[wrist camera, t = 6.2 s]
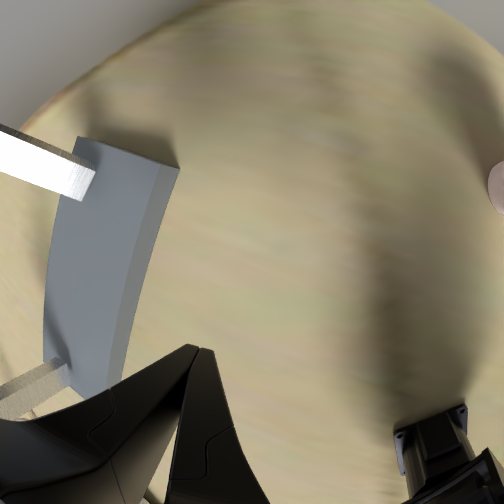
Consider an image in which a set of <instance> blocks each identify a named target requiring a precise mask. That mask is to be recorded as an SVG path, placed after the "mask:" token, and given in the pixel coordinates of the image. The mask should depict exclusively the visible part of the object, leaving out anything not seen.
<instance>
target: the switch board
mask: <svg viewBox="0 0 504 504" xmlns="http://www.w3.org/2000/svg"><path fill="white" fill-rule="evenodd" d="M72 154H74V155H76V156H78V157H81V158H83V159H85V160H88V161H90V162H92V163H94V164H95V167H96V173H95V175H94V177H93V179H92V181H91V183H90V185H89V187H88V189H87V191H86V193H85V195H84V197H83V199H82V201H78V200H76V199H73V198H71V197H68V196H65V195H63V194H61V195H60V199H59V204H58V208H57V213H56V218H55V223H54V228H53V234H52V239H51V246H50V252H49V260H48V267H47V276H46V287H45V299H44V319H43V362H44V363H45V362H47V361H49V360H51V359H53V358H55V357H57V358H59V359H61V360H62V361H64V362H66V363H67V367H68V372H69V377H70V382H71V384H70V385H69V386H70V387H71V388H72V389H73V390H74V391H76V392H77V393H78V394H79V395H80V396H81V397H83V398H84V399H85V400H86V399H89V398H91V397H93V396H95V395H97V394H99V393H101V392H102V391H104V390H106V389H108V388H109V389H110V387H112V386H114V385H115V384H117V383H119V382H121V377H122V371H123V366H124V361H125V356H126V351H127V347H128V342H129V337H130V333H131V329H132V324H133V320H134V316H135V312H136V308H137V304H138V300H139V296H140V292H141V288H142V285H143V281H144V277H145V274H146V270H147V267H148V263H149V260H150V256H151V253H152V250H153V247H154V243H155V240H156V237H157V234H158V231H159V227H160V224H161V221H162V218H163V215H164V212H165V209H166V206H167V204H168V201H169V198H170V195H171V192H172V189H173V187H174V184H175V181H176V178H177V176H178V173H179V170H180V169H177V168H175V167H172V166H169V165H166V164H164V163H161V162H158V161H155V160H153V159H150V158H147V157H144V156H141V155H138V154H136V153H133V152H130V151H127V150H124V149H121V148H118V147H115V146H112V145H109V144H106V143H103V142H100V141H97V140H93V139H88V138H84V137H80V136H77V139H76V142H75V145H74V149H73V152H72Z"/></svg>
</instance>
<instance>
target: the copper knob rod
mask: <svg viewBox="0 0 504 504" xmlns="http://www.w3.org/2000/svg"><path fill="white" fill-rule="evenodd" d="M0 170H1V171H3V172H6V173H8V174H11V175H14V176H16V177H19V178H21V179H24V180H26V181H29V182H32V183H34V184H37V185H39V186H42V187H44V188H47V189H50V190H52V191H55V192H57V193H60V194H63V195H65V196H68V197H71V198H73V199H76V200H78V201H82V199H83V197H84V195H85V193H86V191H87V189H88V187H89V185H90V183H91V181H92V179H93V177H94V175H95V173H96V167H95V164H94V163H92V162H90V161H88V160H85V159H83V158H81V157H78V156H76V155H74V154H71V153H69V152H67V151H64V150H62V149H60V148H57V147H55V146H53V145H50V144H48V143H46V142H43V141H41V140H39V139H36V138H34V137H32V136H29V135H27V134H24V133H22V132H20V131H17V130H15V129H13V128H10V127H8V126H5V125H3V124H0Z"/></svg>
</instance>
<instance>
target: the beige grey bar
mask: <svg viewBox="0 0 504 504" xmlns="http://www.w3.org/2000/svg"><path fill="white" fill-rule="evenodd" d="M70 384H71V382H70V377H69V372H68V367H67V363H66V362H64V361H62V360H61V359H59V358H57V357H55V358H53V359H51V360H49V361H47V362H45V363H44V364H42V365H40V366H38V367H36V368H34V369H32V370H30V371H28V372H26V373H24V374H23V375H21V376H19V377H17V378H15V379H13V380H11V381H9V382H7V383H5V384H3V385H2V386H0V418H2V419H6V420H11V421H14V420H15V419H17V418H19V417H20V416H22V415H23V414H25V413H26V412H28V411H30V410H31V409H33V408H34V407H36V406H38V405H39V404H41V403H42V402H44V401H45V400H47V399H49V398H50V397H52V396H53V395H55V394H56V393H58V392H60V391H61V390H63V389H64V388H66V387H67V386H69V385H70Z"/></svg>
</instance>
